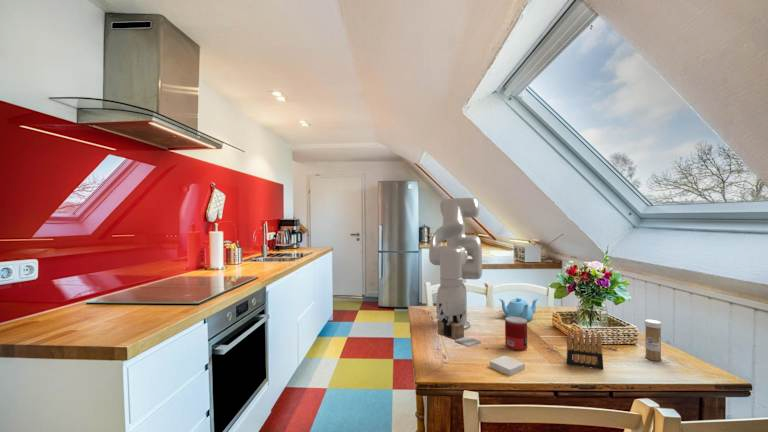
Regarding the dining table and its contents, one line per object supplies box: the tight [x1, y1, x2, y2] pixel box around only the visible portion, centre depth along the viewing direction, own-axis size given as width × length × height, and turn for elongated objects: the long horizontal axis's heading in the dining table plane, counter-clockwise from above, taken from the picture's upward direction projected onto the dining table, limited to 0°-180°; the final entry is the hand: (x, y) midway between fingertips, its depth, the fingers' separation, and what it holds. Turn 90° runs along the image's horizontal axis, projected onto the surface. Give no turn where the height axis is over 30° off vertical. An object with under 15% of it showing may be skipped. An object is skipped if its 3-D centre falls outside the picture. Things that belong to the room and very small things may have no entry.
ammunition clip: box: [566, 329, 604, 370], centre depth 114 cm, size 11×2×12 cm, turn 69°
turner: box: [437, 319, 482, 348], centre depth 115 cm, size 16×6×5 cm, turn 33°
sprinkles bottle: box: [644, 319, 662, 362], centre depth 119 cm, size 5×5×14 cm
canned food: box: [504, 316, 528, 352], centre depth 130 cm, size 8×8×11 cm
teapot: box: [498, 297, 539, 322], centre depth 167 cm, size 15×15×10 cm
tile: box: [489, 355, 526, 376], centre depth 112 cm, size 2×8×8 cm
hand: (451, 334), depth 117 cm, fingers closed on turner, 3 cm apart
